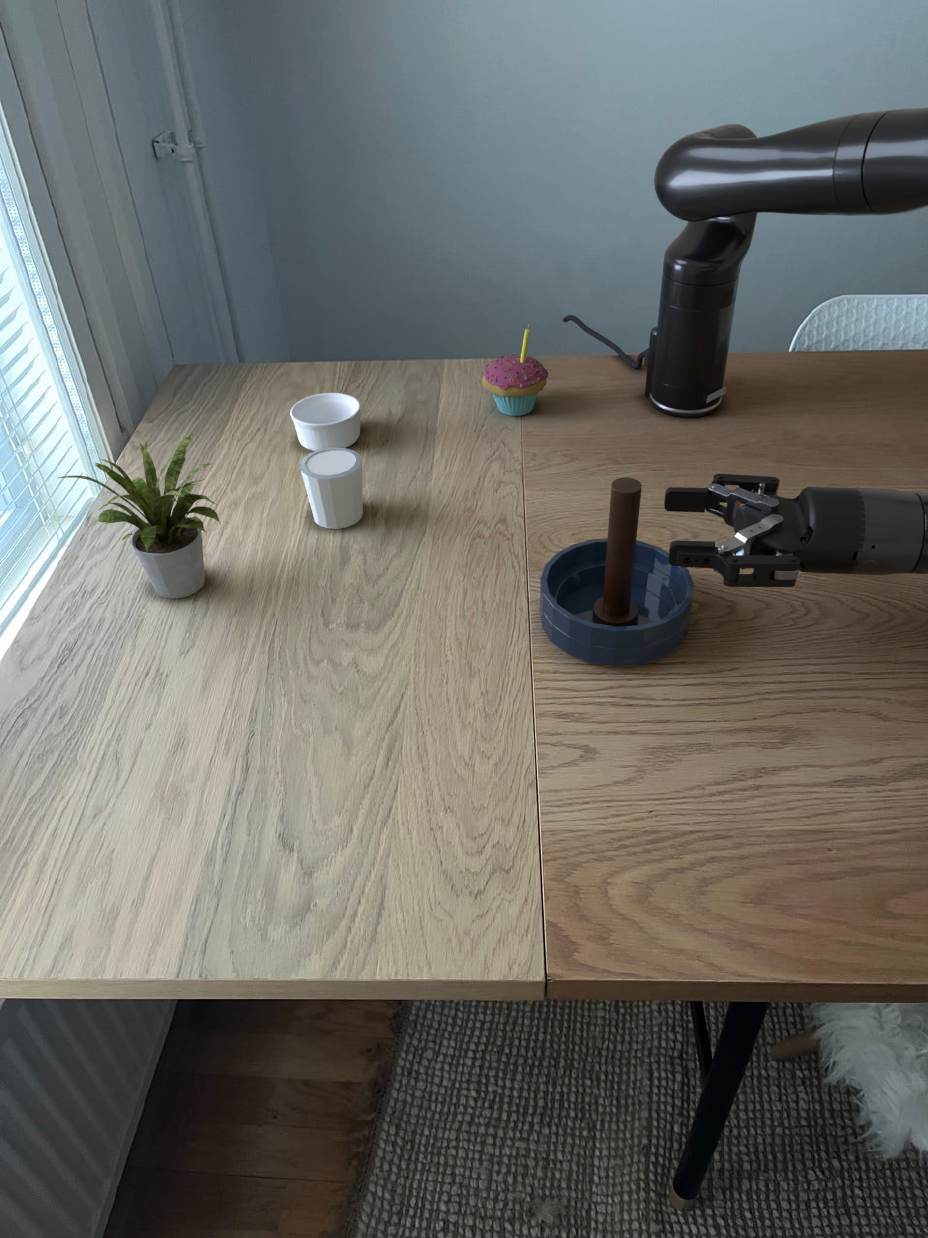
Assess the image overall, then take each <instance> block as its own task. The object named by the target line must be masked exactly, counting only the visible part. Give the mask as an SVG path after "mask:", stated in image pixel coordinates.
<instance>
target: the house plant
mask: <svg viewBox="0 0 928 1238" xmlns="http://www.w3.org/2000/svg"><path fill="white" fill-rule="evenodd" d="M194 434H195V432H193V433H191V434H189V435H188V436H186V437H185V438H184V439H183V440H182V441H181V442H180V444H179V445H178V447H177V448H176V450H175V452H174V454H173V456H172V457H171V458H170V459H168V461H166V463H165V464H164V465H163V466H162V468H161V469H160V471H159V473H158V474H157V470H156V467H155V463H154V461H153V459H152V456H151V455H150V453H149V451H148V440H146V441H145V444H144V445H143V444H142V443H141V442H139V448H140V452H141V454H142V463H143V470H144V477H145V478H144V479H145V480H144V479H143V478H141V477H135V478H133V479H131V478H130V477H129V476H128V474H127V473H126V471H125V470H124V469H123V468H122V467H121V466H120V465H118V464H116V463H115V462H113V461H110V460H107V459H101V458H99V460H100V461H103V462H106V463H108V464H109V465H111V466H113V468H115V469H116V470H117V471H118V472H119V473H118V472H116V471H115V470H114V469H113V468H110V467H109V466H108V465H105V464H103V463H98V462H93V465H94V466H96V467H97V468H98V469H99V470H100V471H102V472H104V473H106V474H107V476H108V477H109V478H110V479H111V480H112V481H113V482H115V483H117V484H118V485H119V486H120V487H122V488H123V489H124V491H126V492H127V494H122V495H121V494H120V493H118V492H116V491H115V490H114V489H112V488H111V487H109V486H108V485H107V484H104V483H103V482H101V481H99V480H97V479H94V478H92V477H91V476H85V475H64V476H60V477H58V479H68V478H70V479H73V478H74V479H75V478H76V479H83V480H88V481H91V482H93V483H96V484H98V485H100V486H102V487H103V488H105V489H106V490H108V491H109V492H111V493H112V494H114V495H115V496H113V497H112V498H111V499H110V500H108V501H107V503H105V504H103V505H102V506H100V508H99V509H98V511H100V510H101V509H103V508H105V507H107V506H108V505H114V506H117V507H118V508H120V509H122V510H124V511H121V510H117V509H112V508H111V509H110V508H109V509H105V510H103V511H102V512H101V513H99V515H98V517H97V518H96V521H95V522H96V523H97V522H100V523H103V524H102V526H104V525H108V524H114V523H125V522H126V523H128V524H130V525H133V526H134V527H136V529H135V531H134V532H132V533H127V534H126V535H125V536H123V537H122V539H121V542H122V541H124V540H126V539H127V538H129V537H130V547H131V548H132V550H133V551H134V554H135V555H136V557H137V559H138V561H139V563H140V564H141V567H142V569H143V571H144V572H145V575H146V576H147V577H148V580H149V581H150V583H151V585H152V586H153V589H154V590H155V592H156V594H157V595H158V596H160V597H162V598H165V599H174V600H175V599H182V598H186V597H189V596H191V595H193V594H196V593H198V591H199V590H200V589H202V588H203V586H204V584H205V581H206V579H205V563H204V546H203V532H204V533H205V534H207V531H206V530H205V526H204V522H203V521H202V520H201V519H200V518H199V517H198V516H192V517H191V516H190V517H189V516H188V515H189V514H197V515H201V516H204V517H207V518H210V519H214V520H215V521H217V522H218V523H219V524H220V525H221V522H220V519H219V516H218V513H217V512H216V511H215V509H214V508H211V507H209V506H203V505H202V506H200V505H199V506H193V505H194V504H195V503H196V502H197V501H200V500H206V501H207V502H210V503H212V504H214V505H216V506H217V503H215V502H214V500H212V499H210V498H209V497H208V496H206V495H204V494H198V493H192V492H193V489H194V488H195V486H196V485H197V482H198V483H199V482H201V481H204V480H205V478H203V479H198V480H194V481H193V480H192V481H190V480H191V478H192V477H193V476H194V475H195V474H196V473H197V472H199V471H201V470H202V469H204V468H206V467H208V466H210V465H211V463H204V464H200V465H199V466H197V467H196V468H194V469H193V470H192V471H190V473H189V474H188V475H187V477H186V478H184V480H183V481H182V484H180V486H178V487H177V484H178V481H179V477H180V474H181V472H182V469H183V466H184V465H185V461H186V458H187V457H186V456H187V448H188V447H189V444H190V443H191V440H192V438H193V436H194ZM166 469H167V470H166ZM165 470H166V472H165ZM164 473H165V476H164V489H163V490H164V491H163V494H162V495H161V489H160V482H161V479H162V476H163V474H164ZM157 475H158V476H157ZM118 498H120V499H122V501H124V502H126V503H127V504H128V505H130V506H131V507H132V508H133V509H135V510H136V511H137V513H139V514H140V515H141V516H143V518H144V519H145V520H146V521H145V520H143V518H141V517H140V516H139V515H138V514H137V513H135V512H134V511H133V510H131V509H130V507H129V506H126V505H124V504H122V503H119V502H114V501H116V500H117V499H118ZM130 501H131V502H132V503H131V502H130ZM134 504H135V505H136V506H137V507H138V508H137V507H136V506H135V505H134ZM174 504H175V505H174Z"/></svg>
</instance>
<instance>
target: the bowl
mask: <svg viewBox="0 0 928 1238" xmlns="http://www.w3.org/2000/svg"><path fill="white" fill-rule="evenodd" d="M607 539H608V537H607V538H593V539H592V538H591V539H589V540H584V541H580V542H577V543H573V544H571V545H569V546H568V547H565V548H564V549H561V550H560V551H558V552H556V553H555V554H554V555H553V556H552V557H551V558H550V559H549V561H547V563H545V565H544V567H543V570H542V573H541V575H540V584H539V585H540V588H539V590H540V592H539V617H540V623H541V628H542V630H543V632H544V634H546V636H547V638H548V639H549V640H550V642H551V643H552V644H553V645H555V646H556V647H557V648H559V649H560V650H561V651H563V652H564V653H566V654H567V655H569V656H570V657H573V658H576V659H579V660H581V661H583V662H586V663H589V664H592V665H593V664H594V665H600V666H606V667H613V668H620V667H621V668H623V667H638V666H643V665H645V664H650V663H652V662H656V661H659V660H662V659H664V658H665V657H667V656H668V655H670V654H672V653H673V652H675V651H676V650H677V649H679V647H680V645H681V644H682V642H684V640H685V639H686V637H687V636H688V631H689V626H690V625H689V624H690V618H691V612H692V606H693V599H694V592H695V586H696V585H695V582H694V579H693V577H692V575H691V572H690V570H689V568H687V567H679V566H672V565H670V564H669V558H668V556H669V551H667V550H665V549H663V548H662V547H660V546H657V545H654V544H651V543H647V542H644V541H641V540H638V539H636V550H635V560H634V570H633V580H632V590H631V599H633V600H634V601H635V602H636V603H637V605H638V607H639V616H638V622H637V624H636V625H635V626H620V627H617V626H610V625H603V624H596V623H595V622H594V620H593V617H592V615H593V605H594V603H595V601H596V600H597V599H599V598H600V597H602V596H603V593H604V579H605V566H606V552H607Z"/></svg>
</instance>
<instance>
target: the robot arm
mask: <svg viewBox="0 0 928 1238" xmlns="http://www.w3.org/2000/svg"><path fill="white" fill-rule="evenodd" d="M653 185H654V191H655V194H656V197H657V199H658V201H659V203H660V204H661V206H662V207H663V208H664V209H665V210H666V211H667V213H669V214H671V215H672V216H673V217H674V218H677V219H679V220H681V221H685V222H687V223H686V225H685V226H684V228H683V229H682V231H680V233H679V234H678V236H676V237H675V238H674V240H672V241H671V242H670V244H668V246H667V247H666V250H665V252H664V256H663V264H662V273H661V274H662V275H661V284H660V285H661V286H660V295H659V296H660V297H659V305H658V314H657V325H656V326H654V327H653V328H652V329H650V334H649V344H648V348H646V349H644V351H641V352H640V353H639V354H638V355H637V358H636V362H635V361H633V360H632V359H631V358H630V357H629V356H628V355H627V354H626V353H625V352H624V351H623V350H622V348H621V347H620V346H618V345H617V344H616V343H614V342H613V341H612V340H610V339H609V338H607V337H605V336H604V335H602V334H601V333H599V332H597V331H595V330H593V329H592V328H591V327H589V326H588V325H586V324H585V323H584V322H583V321H582V320H581V319H580V318H579V317H577V316H575V315H573V314H568V315H566V316H565V317H564V318H563V319H562V323H567V322H569V321H571V322H573V323H575V325H577V326H578V327H579V328H580V329H581V330H582V331H584V332H585V333H586V334H587V335H590V336H591V337H592V338H594V339H596V340H598V341H599V342H601V343H603V344H604V345H606V347H609V348H610V349H611V350H613V351H614V352H615V353H616V354H617V355H618V356H619V357H620V358H621V359H622V360H623V361H624V362H625V363H627V365H628V366H629V367H631V368H633V369H635V370H639V369H641V368H642V366H643V368H645V369H646V375H645V385H644V386H645V388H644V397H645V398H647V399H648V400H649V403H650V405H651V406H652V407H653V408H654V409H656V410H658V411H659V412H662V413H664V414H666V415H670V416H676V417H682V418H683V417H684V418H695V417H696V418H697V417H704V416H707V415H710V414H713V413H714V412H716V411H717V410H718V409H719V408H720V407H721V405H722V400H723V395H725V394H726V391H727V386H724V382H725V375H726V369H727V362H728V356H729V355H728V354H729V350H730V349H729V348H730V341H731V334H732V330H733V329H732V328H733V321H734V320H733V319H734V315H735V309H736V308H735V307H736V303H737V302H736V301H737V295H738V286H739V280H740V274H741V268H742V264H743V261H744V260H745V258H746V256H747V254H748V252H749V250H750V248H751V246H752V243H753V237H754V233H755V228H756V223H757V218H758V214H759V213H770V214H785V215H804V216H805V215H806V216H843V217H865V216H866V217H867V216H869V217H870V216H871V217H872V216H893V215H901V214H908V213H912V212H913V213H914V212H916V211H921V210H922V209H925V208H928V106H925V107H914V108H895V109H888V110H878V111H870V112H861V113H855V114H850V115H844V116H839V117H834V118H830V119H825V120H822V121H816V122H813V123H809V124H805V125H802V126H798V127H795V128H792V129H788V130H785V131H782V132H781V131H780V132H777V133H773V134H770V135H766V136H757V135H756V134H755V132H754V131H753V130H752V129H751V128H748V127H747V126H746V125H743V124H741V123H740V124H739V123H727V124H722V125H718V126H714V127H710V128H707V129H703V130H699V131H696V132H693V133H689V134H687V135H686V134H685V136H682V137H681V138H679V139H677V140H676V141H675V142H673V143H672V144H671V145H670V146H669V147H668V148H666V150H665V151H664V152H663V154H662V155H661V157H660V158H659V160H658V163H657V164H656V166H655V171H654V177H653ZM712 477H713V478H712V481H711V483H710V484H708V486H707V487H687V486H686V487H682V486H681V487H680V486H676V487H672V486H671V487H668V488H666V490H665V493H664V500H663V503H664V504H663V505H664V510H665V511H666V512H672V513H673V512H674V513H676V512H678V513H704V514H705V511H706V512H708V513H710V514H712V515H715V516H717V517H719V518H722V519H723V521H724V523H725V524H726V525H727V526H728V527H731V528H733V531H734V533H735V535H734V536H733V537H731V538H729V539H726V540H724V541H722V542H720V543H718V544H717V546H716V542H715V541H701V540H677V539H676V540H673V541H671V542H670V544H669V550H668V552H669V556H668V558H669V564H670V565H672V566H679V567H686V568H687V569H689V568H691V569H692V568H693V569H713V572H715V573H717V574H720V575H721V577H722V579H723V580H722V583H723V585H724V586H726V587H728V588H793V587H795V586H796V582H797V578H798V575H799V573H800V572H801V573H807V574H809V573H810V574H832V575H833V574H834V575H835V574H836V575H861V576H862V575H863V576H888V575H898V574H899V575H900V574H909V575H910V574H911V575H928V492H912V491H911V492H910V491H908V492H907V491H902V490H895V489H889V488H868V487H867V488H865V487H834V486H833V487H830V486H807V487H804V488H803V489H802V490H801V491H800V493H799V494H798V495H797V496H796V497H794V498H791V497H790V498H789V497H784V496H781V495H779V494H778V492H779V487H780V482H781V480H780V479H779V477H776V476H768V475H750V474H749V475H748V474H731V473H715V474H714V475H713V476H712ZM726 486H737V488H735V489H731V488H730V487H729V488H728V487H726ZM721 503H722V504H721ZM723 504H726V505H723ZM746 569H753V571H752V573H741V570H746Z"/></svg>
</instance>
